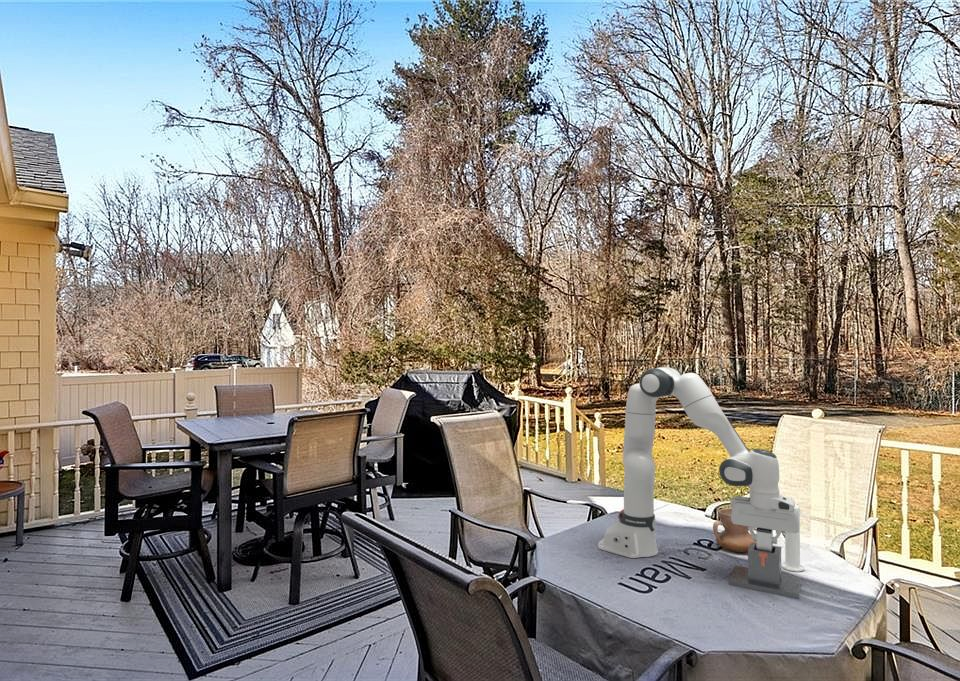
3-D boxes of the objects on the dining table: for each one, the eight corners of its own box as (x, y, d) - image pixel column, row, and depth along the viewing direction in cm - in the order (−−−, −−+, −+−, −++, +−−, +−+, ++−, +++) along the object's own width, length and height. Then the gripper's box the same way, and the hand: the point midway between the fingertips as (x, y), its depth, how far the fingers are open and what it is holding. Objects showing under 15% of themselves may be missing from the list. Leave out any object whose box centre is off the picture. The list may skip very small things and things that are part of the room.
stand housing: (728, 584, 186) (728, 549, 186) (735, 569, 198) (734, 536, 198) (798, 598, 176) (798, 561, 176) (800, 582, 188) (800, 547, 188)
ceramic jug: (746, 541, 227) (745, 505, 227) (769, 554, 212) (767, 516, 212) (703, 544, 225) (702, 508, 225) (723, 557, 210) (722, 518, 210)
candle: (803, 566, 201) (802, 495, 201) (805, 573, 195) (804, 500, 195) (780, 562, 204) (780, 493, 204) (781, 570, 198) (781, 498, 198)
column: (756, 577, 186) (755, 529, 186) (757, 572, 190) (757, 525, 190) (772, 581, 184) (772, 531, 184) (773, 575, 188) (773, 527, 188)
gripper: (728, 497, 190) (729, 538, 190) (798, 506, 179) (799, 550, 179) (731, 493, 195) (731, 533, 195) (799, 501, 184) (800, 544, 184)
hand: (764, 541), depth 187 cm, fingers closed on column, 4 cm apart
